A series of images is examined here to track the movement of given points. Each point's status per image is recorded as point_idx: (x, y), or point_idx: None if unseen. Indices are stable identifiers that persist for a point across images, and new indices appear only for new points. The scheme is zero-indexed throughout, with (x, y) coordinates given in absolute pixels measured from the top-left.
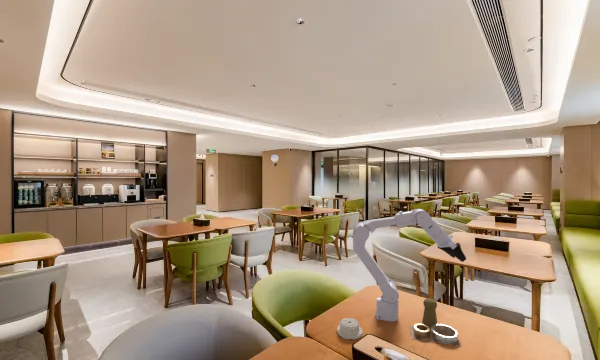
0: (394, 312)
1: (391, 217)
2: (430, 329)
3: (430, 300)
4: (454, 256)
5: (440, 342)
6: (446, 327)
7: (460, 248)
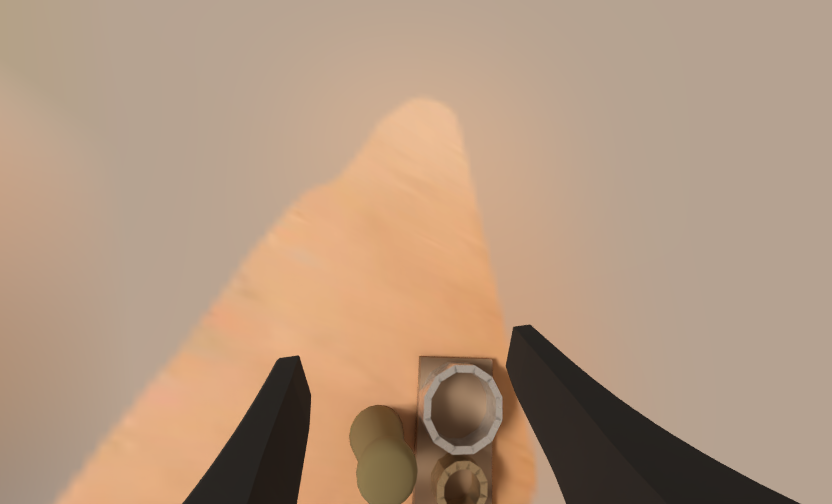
0: None
1: None
2: (420, 441)
3: (398, 480)
4: (307, 391)
5: None
6: (433, 392)
7: (703, 461)
